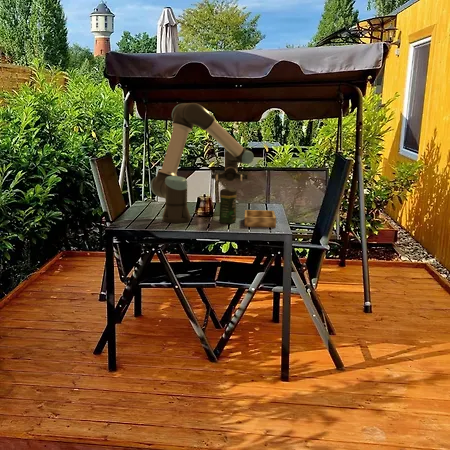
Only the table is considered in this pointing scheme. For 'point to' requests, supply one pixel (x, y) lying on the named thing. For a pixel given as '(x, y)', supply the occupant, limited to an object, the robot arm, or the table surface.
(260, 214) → the pine crate
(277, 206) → the table surface
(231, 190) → the coffee jar
